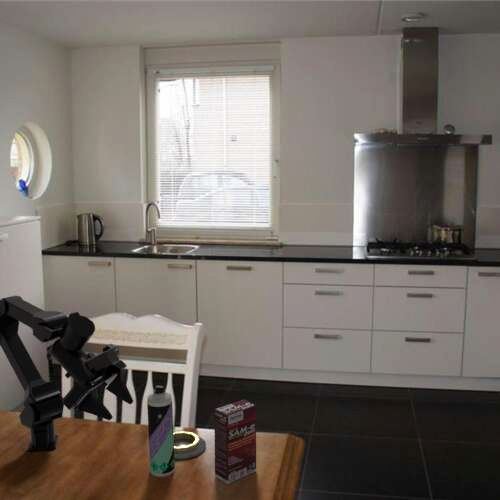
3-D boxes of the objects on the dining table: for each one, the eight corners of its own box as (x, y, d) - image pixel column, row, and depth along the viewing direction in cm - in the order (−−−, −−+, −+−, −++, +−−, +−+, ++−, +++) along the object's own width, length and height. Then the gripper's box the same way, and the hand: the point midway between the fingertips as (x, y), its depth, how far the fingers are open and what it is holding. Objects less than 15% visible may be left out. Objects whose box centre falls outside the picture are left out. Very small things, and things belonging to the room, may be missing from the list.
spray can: (145, 471, 142) (141, 386, 138) (164, 462, 146) (161, 379, 142) (160, 479, 138) (157, 393, 135) (179, 470, 142) (176, 385, 139)
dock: (154, 438, 157) (154, 431, 157) (202, 434, 159) (202, 426, 159) (157, 462, 146) (156, 454, 145) (208, 457, 148) (208, 448, 147)
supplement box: (228, 485, 135) (226, 415, 133) (214, 476, 139) (212, 408, 136) (258, 471, 141) (257, 404, 138) (243, 463, 145) (242, 398, 142)
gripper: (70, 348, 131) (121, 403, 129) (115, 326, 148) (161, 373, 146) (41, 383, 134) (91, 436, 132) (89, 357, 152) (134, 403, 150)
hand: (122, 410), depth 140 cm, fingers open, 9 cm apart
